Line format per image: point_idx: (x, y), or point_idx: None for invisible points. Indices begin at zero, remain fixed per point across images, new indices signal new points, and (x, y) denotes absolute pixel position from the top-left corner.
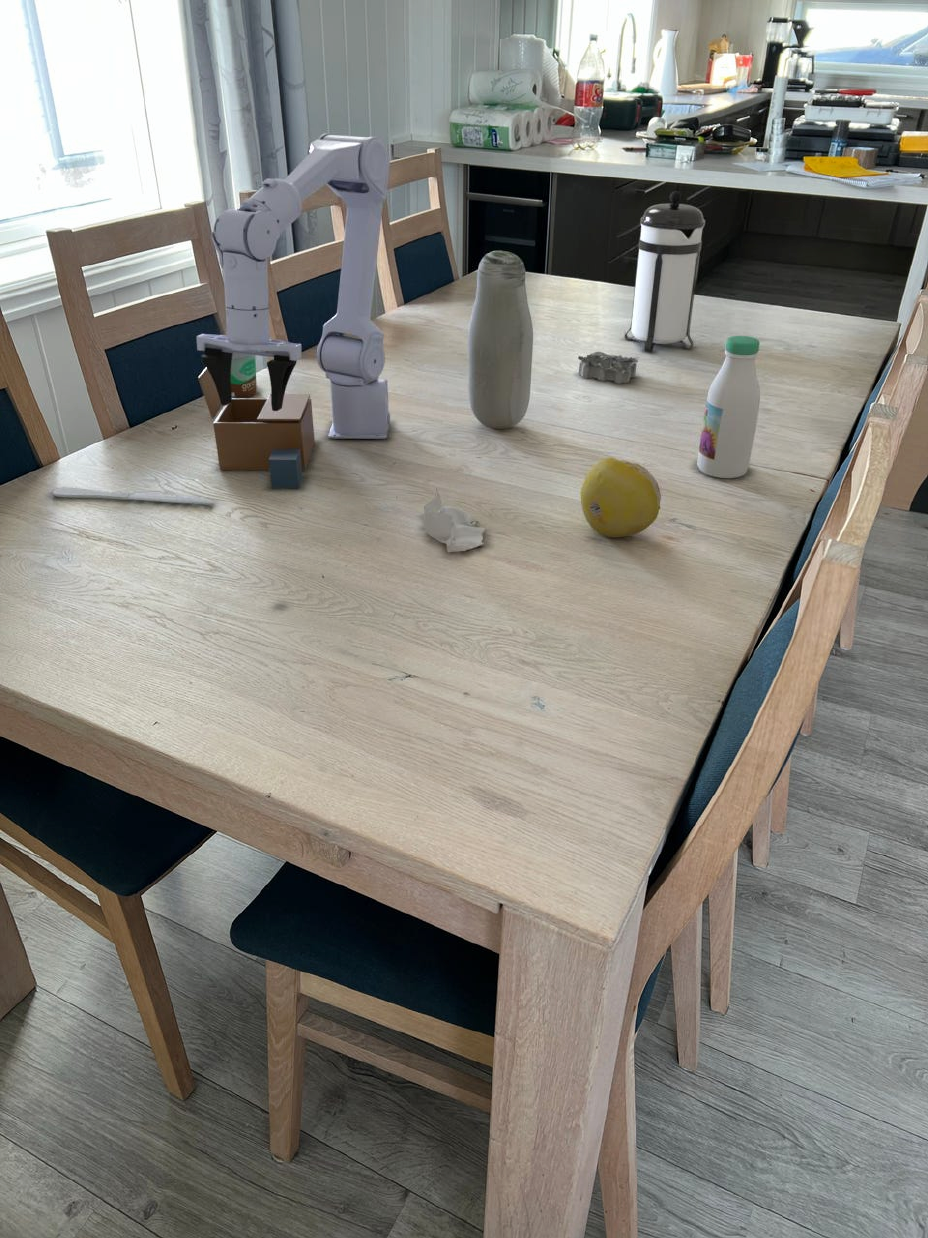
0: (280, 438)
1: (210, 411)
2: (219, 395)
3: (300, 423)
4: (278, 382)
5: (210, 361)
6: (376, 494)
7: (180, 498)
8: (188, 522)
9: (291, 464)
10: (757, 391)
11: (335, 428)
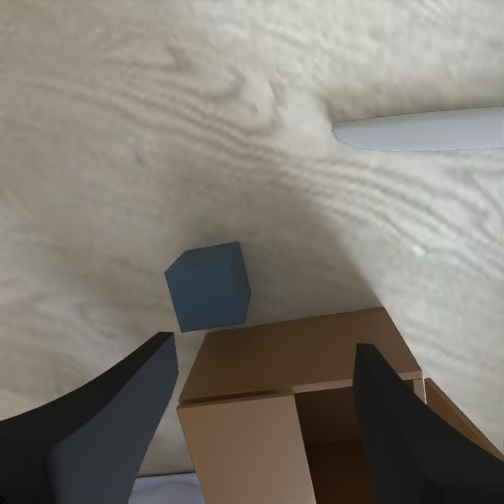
0: (239, 366)
1: (439, 392)
2: (383, 360)
3: (179, 400)
4: (74, 390)
5: (468, 475)
6: (29, 255)
7: (418, 135)
8: (356, 26)
9: (178, 266)
10: None
11: None
